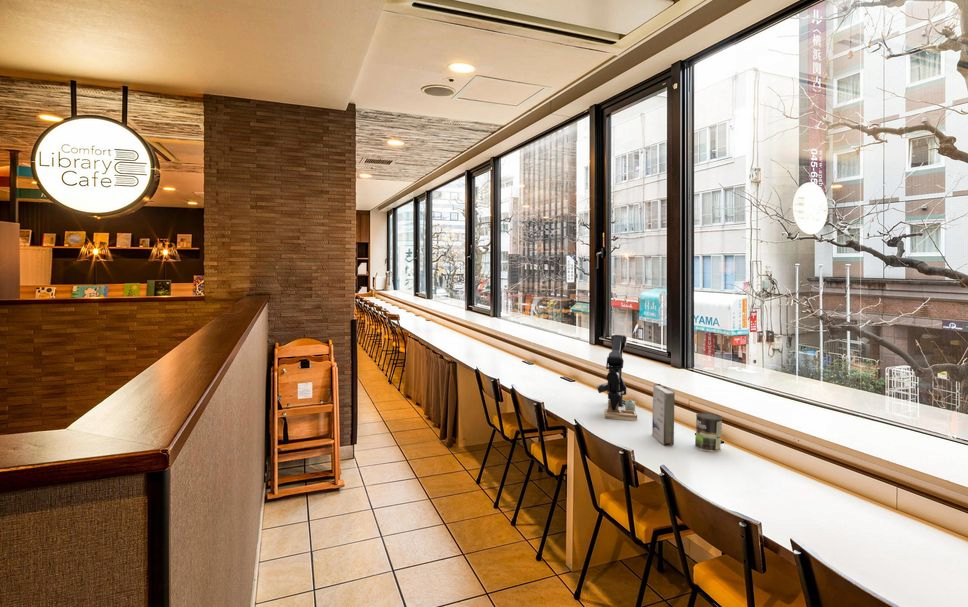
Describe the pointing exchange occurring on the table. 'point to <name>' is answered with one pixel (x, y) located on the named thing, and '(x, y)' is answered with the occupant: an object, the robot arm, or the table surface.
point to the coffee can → (708, 432)
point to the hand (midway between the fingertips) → (613, 408)
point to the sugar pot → (630, 405)
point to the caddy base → (621, 414)
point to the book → (663, 414)
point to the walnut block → (611, 407)
